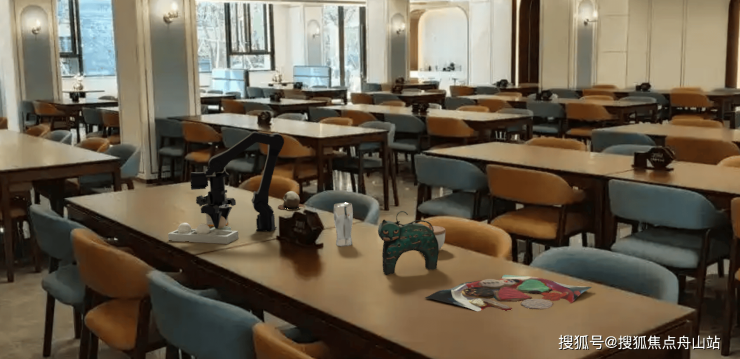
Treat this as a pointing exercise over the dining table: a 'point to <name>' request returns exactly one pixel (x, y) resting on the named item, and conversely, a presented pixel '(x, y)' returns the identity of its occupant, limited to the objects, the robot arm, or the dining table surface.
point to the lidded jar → (439, 234)
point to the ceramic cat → (407, 243)
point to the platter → (508, 293)
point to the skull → (291, 201)
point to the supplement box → (209, 220)
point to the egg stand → (222, 228)
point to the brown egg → (222, 222)
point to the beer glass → (343, 223)
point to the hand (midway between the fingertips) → (219, 226)
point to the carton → (202, 234)
